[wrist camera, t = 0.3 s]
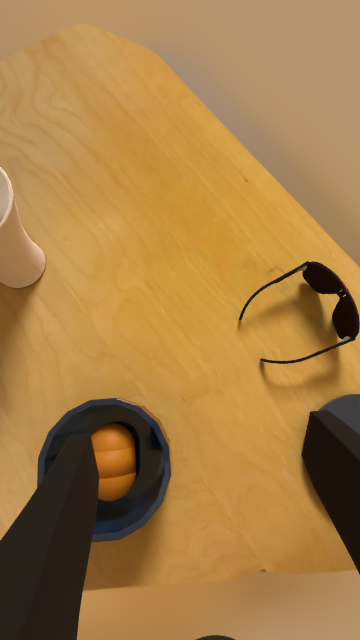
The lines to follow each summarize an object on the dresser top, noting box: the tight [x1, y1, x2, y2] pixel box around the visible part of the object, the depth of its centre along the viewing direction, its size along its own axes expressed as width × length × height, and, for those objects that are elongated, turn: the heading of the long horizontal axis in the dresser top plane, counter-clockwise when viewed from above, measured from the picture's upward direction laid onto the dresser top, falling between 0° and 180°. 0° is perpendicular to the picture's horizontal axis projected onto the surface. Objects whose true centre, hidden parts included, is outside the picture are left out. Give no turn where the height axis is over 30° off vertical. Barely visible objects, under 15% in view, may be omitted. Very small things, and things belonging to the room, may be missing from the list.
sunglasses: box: [239, 261, 359, 364], centre depth 39 cm, size 10×12×5 cm
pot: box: [37, 398, 171, 542], centre depth 34 cm, size 12×12×6 cm
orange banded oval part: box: [91, 423, 136, 501], centre depth 34 cm, size 7×5×5 cm
